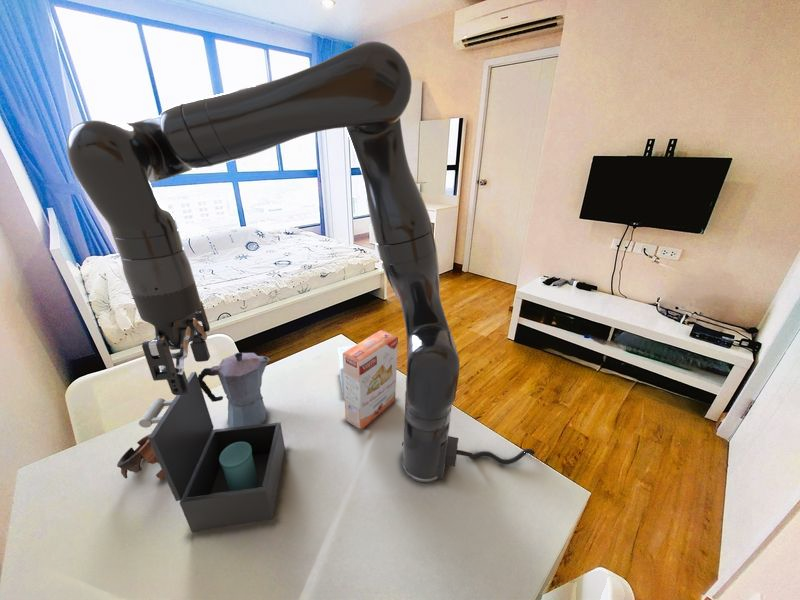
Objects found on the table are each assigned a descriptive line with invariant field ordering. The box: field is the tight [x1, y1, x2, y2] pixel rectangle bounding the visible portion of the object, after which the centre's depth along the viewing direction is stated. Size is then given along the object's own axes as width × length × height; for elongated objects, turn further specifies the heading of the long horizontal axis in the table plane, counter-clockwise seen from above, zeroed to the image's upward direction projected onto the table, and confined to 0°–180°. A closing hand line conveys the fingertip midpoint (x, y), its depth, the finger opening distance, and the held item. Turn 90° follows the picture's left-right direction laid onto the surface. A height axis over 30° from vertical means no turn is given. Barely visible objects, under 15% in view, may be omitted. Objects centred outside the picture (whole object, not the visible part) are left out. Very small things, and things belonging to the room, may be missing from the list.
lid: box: [138, 371, 215, 502], centre depth 56 cm, size 14×16×5 cm
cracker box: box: [343, 329, 399, 430], centre depth 80 cm, size 14×6×21 cm, turn 143°
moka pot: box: [197, 352, 271, 428], centre depth 76 cm, size 10×15×20 cm, turn 124°
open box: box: [179, 421, 286, 533], centre depth 63 cm, size 14×16×9 cm
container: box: [219, 442, 258, 491], centre depth 62 cm, size 6×6×9 cm
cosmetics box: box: [337, 344, 356, 399], centre depth 92 cm, size 10×6×10 cm, turn 14°
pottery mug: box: [116, 433, 166, 480], centre depth 68 cm, size 12×10×8 cm
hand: (193, 375), depth 52 cm, fingers open, 8 cm apart
